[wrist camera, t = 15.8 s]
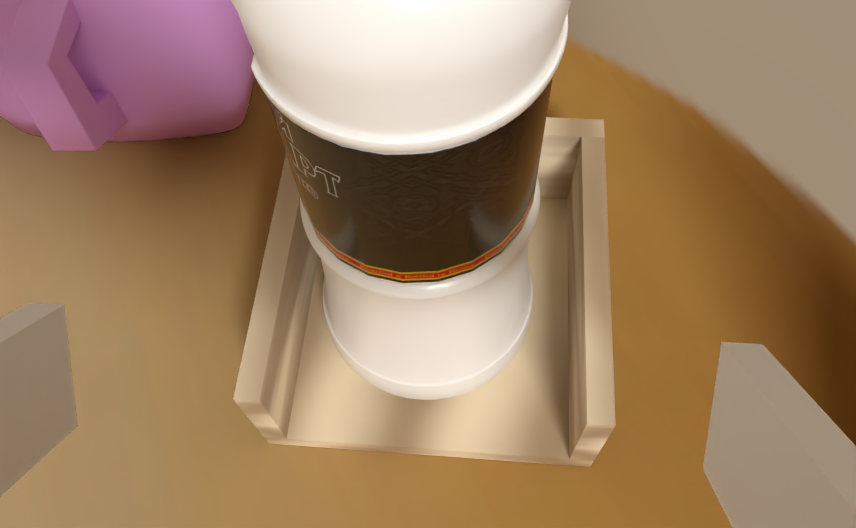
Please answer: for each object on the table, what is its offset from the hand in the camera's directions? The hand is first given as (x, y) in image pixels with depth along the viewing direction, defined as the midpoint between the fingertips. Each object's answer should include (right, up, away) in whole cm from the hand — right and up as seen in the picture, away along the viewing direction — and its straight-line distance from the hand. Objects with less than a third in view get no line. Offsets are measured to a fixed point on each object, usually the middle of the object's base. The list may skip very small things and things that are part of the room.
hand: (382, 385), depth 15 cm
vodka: (+1, 0, +20) cm, 20 cm away
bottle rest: (+1, 0, +21) cm, 21 cm away
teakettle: (-15, +15, +30) cm, 37 cm away
